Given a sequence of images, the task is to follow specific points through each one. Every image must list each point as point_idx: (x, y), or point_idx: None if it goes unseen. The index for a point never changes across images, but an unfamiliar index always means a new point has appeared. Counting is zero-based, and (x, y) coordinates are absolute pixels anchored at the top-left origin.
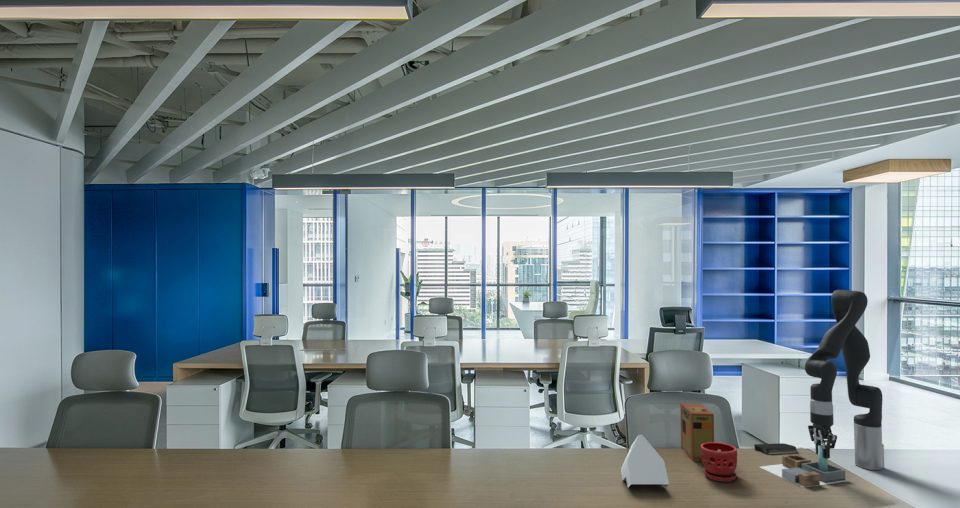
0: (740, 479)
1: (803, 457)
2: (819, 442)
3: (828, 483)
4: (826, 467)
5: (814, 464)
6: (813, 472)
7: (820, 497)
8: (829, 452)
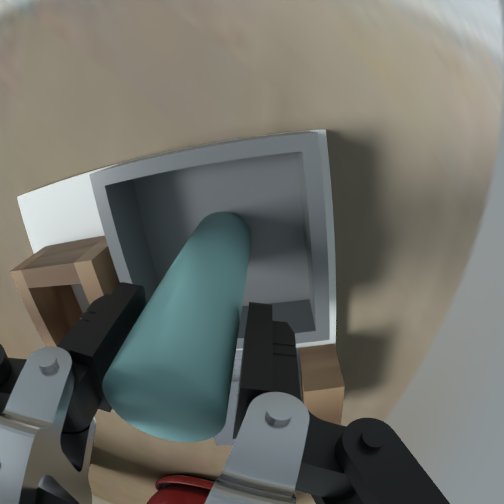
0: (208, 470)
1: (50, 271)
2: (76, 409)
3: (331, 289)
4: (247, 263)
5: (129, 252)
6: (314, 399)
7: (397, 380)
8: (297, 373)
